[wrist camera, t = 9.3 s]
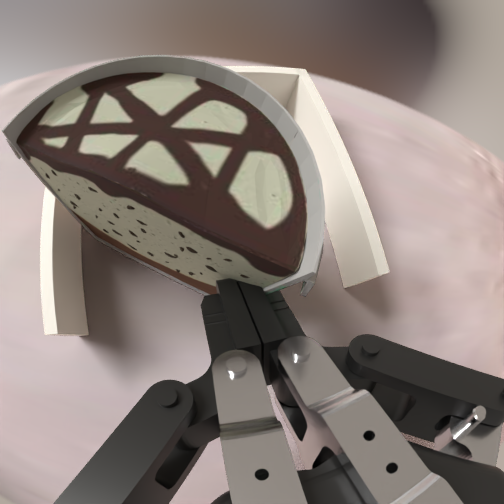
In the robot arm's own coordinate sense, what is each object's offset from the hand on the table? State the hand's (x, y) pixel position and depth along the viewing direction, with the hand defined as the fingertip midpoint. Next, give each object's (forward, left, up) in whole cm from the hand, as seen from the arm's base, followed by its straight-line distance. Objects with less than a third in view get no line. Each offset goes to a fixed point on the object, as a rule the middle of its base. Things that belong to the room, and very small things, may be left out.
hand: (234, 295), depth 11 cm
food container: (-2, +5, -5) cm, 7 cm away
